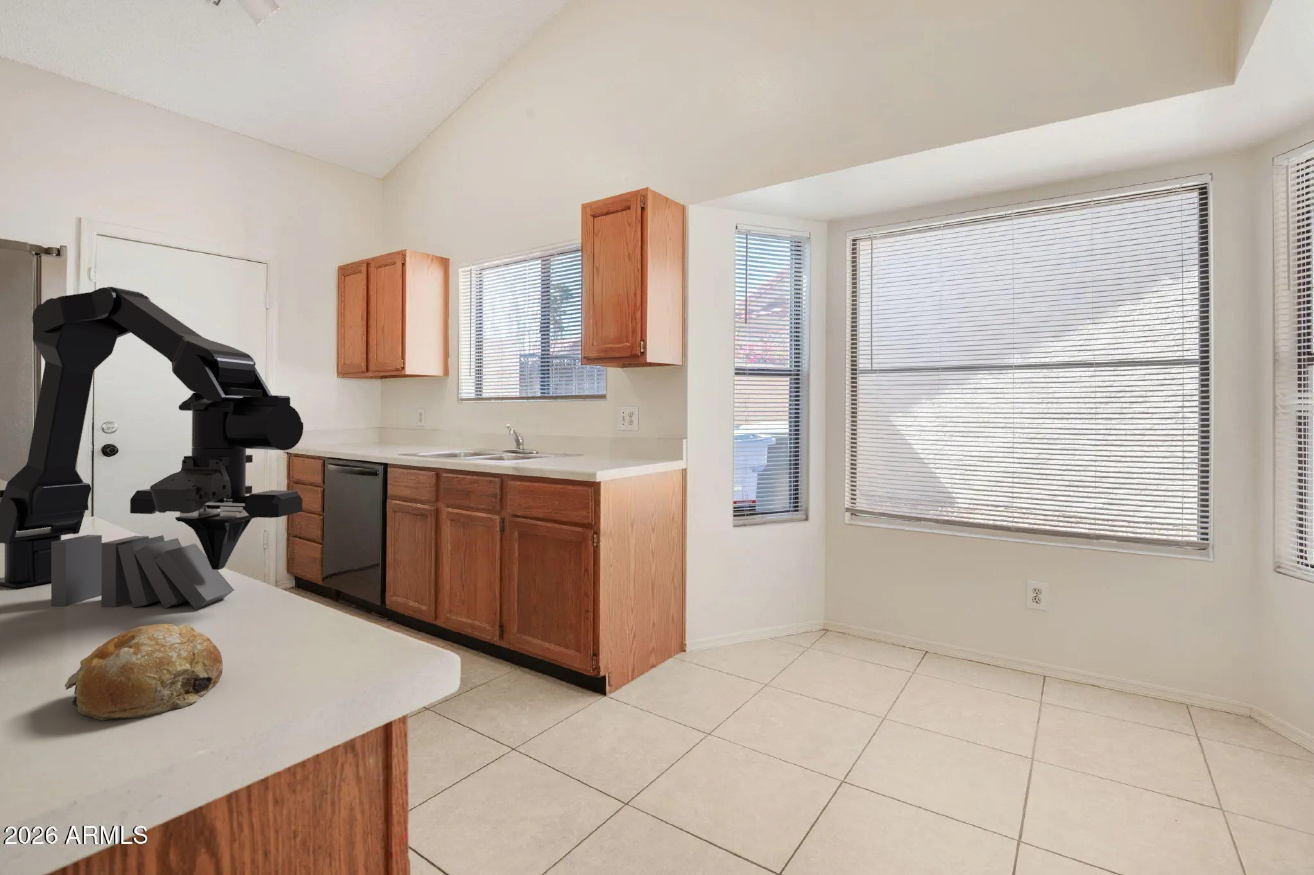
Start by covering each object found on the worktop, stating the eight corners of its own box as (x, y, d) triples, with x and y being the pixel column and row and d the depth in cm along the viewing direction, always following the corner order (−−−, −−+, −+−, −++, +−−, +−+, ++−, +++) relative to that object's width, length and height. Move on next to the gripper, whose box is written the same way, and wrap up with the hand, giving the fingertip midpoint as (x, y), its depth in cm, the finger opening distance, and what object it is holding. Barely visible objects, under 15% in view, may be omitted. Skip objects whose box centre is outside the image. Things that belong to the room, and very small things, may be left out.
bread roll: (134, 771, 50) (178, 682, 50) (19, 712, 50) (62, 622, 50) (223, 713, 60) (260, 638, 59) (127, 664, 60) (163, 589, 59)
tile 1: (51, 605, 79) (51, 542, 78) (88, 594, 84) (88, 534, 83) (65, 606, 79) (65, 542, 78) (101, 595, 84) (101, 535, 83)
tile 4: (164, 608, 79) (133, 552, 78) (194, 597, 84) (165, 544, 84) (177, 602, 79) (146, 545, 78) (206, 591, 84) (177, 538, 83)
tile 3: (133, 607, 79) (117, 545, 79) (164, 596, 84) (150, 538, 84) (146, 604, 79) (131, 542, 78) (177, 593, 84) (163, 535, 83)
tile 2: (101, 606, 79) (101, 543, 79) (135, 595, 84) (135, 535, 84) (115, 607, 79) (115, 543, 79) (148, 596, 84) (148, 536, 84)
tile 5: (195, 609, 79) (154, 560, 78) (224, 598, 84) (185, 551, 83) (206, 600, 79) (165, 551, 78) (234, 589, 84) (195, 543, 83)
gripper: (89, 448, 73) (88, 582, 73) (250, 452, 72) (248, 588, 73) (166, 444, 84) (165, 561, 84) (305, 448, 83) (303, 566, 84)
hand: (218, 569), depth 81 cm, fingers closed
